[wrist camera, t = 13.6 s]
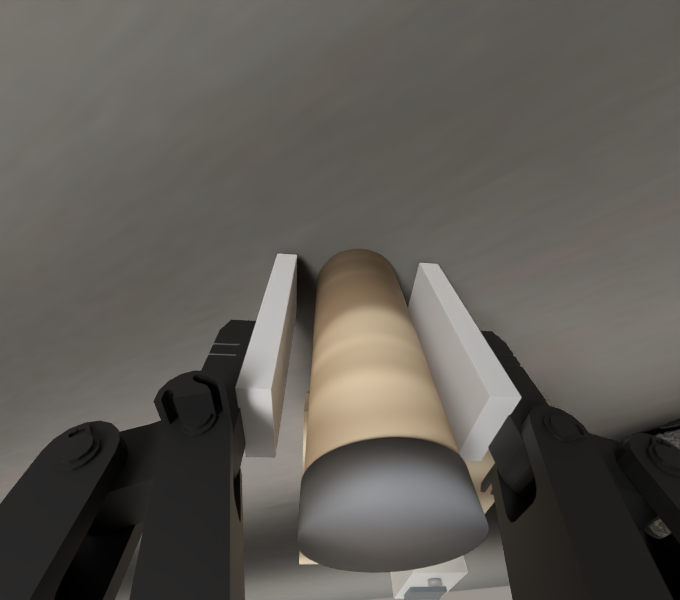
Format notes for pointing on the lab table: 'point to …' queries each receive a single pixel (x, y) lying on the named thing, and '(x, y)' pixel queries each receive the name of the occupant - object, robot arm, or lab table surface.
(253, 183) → the lab table surface
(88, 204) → the lab table surface
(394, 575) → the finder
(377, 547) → the peg
